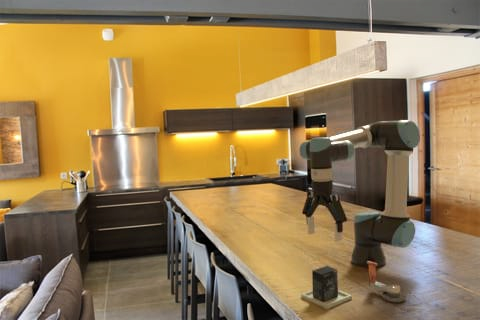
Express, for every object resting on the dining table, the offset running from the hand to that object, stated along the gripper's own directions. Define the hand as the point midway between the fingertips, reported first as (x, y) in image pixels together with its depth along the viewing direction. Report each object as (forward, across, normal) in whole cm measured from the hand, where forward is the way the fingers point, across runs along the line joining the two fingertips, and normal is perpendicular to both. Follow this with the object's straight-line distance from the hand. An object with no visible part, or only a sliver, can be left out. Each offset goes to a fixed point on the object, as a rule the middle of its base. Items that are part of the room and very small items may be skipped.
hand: (324, 237), depth 148 cm
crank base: (+23, +16, +18) cm, 33 cm away
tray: (+23, 0, 0) cm, 23 cm away
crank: (+22, +12, +17) cm, 30 cm away
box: (+23, 0, -1) cm, 23 cm away
